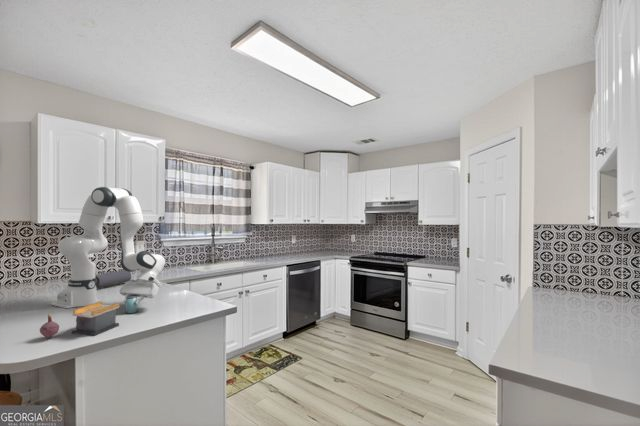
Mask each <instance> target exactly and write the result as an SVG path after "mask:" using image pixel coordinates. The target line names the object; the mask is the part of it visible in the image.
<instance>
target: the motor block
mask: <svg viewBox="0 0 640 426" xmlns="http://www.w3.org/2000/svg"><path fill="white" fill-rule="evenodd" d="M119 308H120V303H118V302H116V303H114V304H113V303H112V304H103V301H101V300H100V301H98V302H96V303H94V304H91V305H86V306H80V307H77V308H75V309H73V310H72V316H73V317H76V318H75V319H76V320H75V323H76V324H75V326H76V328H74V329H72V330H71V333H72V334H76V335H78V334H79V335H86V336H94V337H95V336H98V335H102V333H105V332H108V331H110V330H112V329H115V328H116V327H119V326H120V323H119V322H116V321H117V320H116V319H117V318H116V316H117V315H116V313H117V309H119Z"/></svg>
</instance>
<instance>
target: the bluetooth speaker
mask: <svg viewBox="0 0 640 426" xmlns="http://www.w3.org/2000/svg"><path fill="white" fill-rule="evenodd" d="M95 277H96V284H95V286H96V289H101V288H104V289H108V288H113V287H114V288H115V287H117V286H118V287H119V286H120V285H121V284H125V283H126V282H128V281H130V280H132V272H128V271H125V270H117V271H112V272H106V273H102V274H101V273H100V274H97V275H96V274H95Z"/></svg>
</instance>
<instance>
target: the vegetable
mask: <svg viewBox="0 0 640 426" xmlns="http://www.w3.org/2000/svg"><path fill="white" fill-rule="evenodd" d="M47 319H48V321H47V322H45V323H44V324H42V325H41V326H40V328H39V333H40V335H42V336H43V337H45V338H46V339H49V338H52V337H53V336H55V335H56V334H57V333H59V330H60V325H59V323H57V322H55V321H53V320H52V316H51V315H50V314H47Z"/></svg>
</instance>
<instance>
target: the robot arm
mask: <svg viewBox="0 0 640 426" xmlns="http://www.w3.org/2000/svg"><path fill="white" fill-rule="evenodd" d="M109 208H116V209H117V213H118V216H119V217H118V218H119V220H120V230H119V240H120V247H121V249H120V250H121V258H120V259H121V260H120V266H121V268H122V269H123V271H128V272H130V273H132V272H135V271H137V270H139V271H141V272H140V273H139V275H138V276H137V277H136V279H131V280H130V281H128V282H125V283H123V285H122V287H120V289H119V293H120V295H122V296H124V297H125V298H124V300H123V303H124V304H126V297H127V296H131V295H137V300H135V302H134V303H135V304H137V305H139V303H140V302H141V301H143V300H145V298H146V299H147V298H148V299H153V298H155V297H156V296H157V294H158V293H159V289H160V287H161V286H162V284H161V282H160V281H159V280H158V279H157V278H158V276H159V275H160V274H161V272H162V271H163V269H164V267H165V265H166V259H165V257H164V256H162V255H161V254H159V253H158V254H157V253H151V252H150V251H147V250H141V251H137V252H135V243H134V238H135V235H136V233H137V232H138V231H140V229H141V228H143V226H144V216H143V211H142V207H141V205H140V203H139V200H138V198H137V197H135V196H134V195H133V193H132V192H131V191H130V190H128V189H126V188H122V187H117V186H116V187H115V186H113V187H112V186H111V187H110V186H108V187H107V186H100V187H96V188H94V190H92V192H91V194H90V195H89V196H88V197H87V199H86V200H85V203H84V204H83V207H82V210H81V214H80V217H79V219H78V225H79V227H80V228H81V229H83V235H72V236H68V237H65V238H63V239H61V240H60V241H59V243H58V247H57V248H58V251H59V253H60V254H61V255H63V256H64V257H66V259H67V261H68V263H69V265H70V279H69V280H68V279H67V281H66V284H67V286H65V288H64V289H61V291H59V292H58V293H57V296H56V300H54V301H52V302H51V303H50V305H51V306H56V307H59V308H63V309H68V308H76V307H77V308H80V307H84V306H87V305H91V304H94V303H97V302H99V296H98V292H97V291H98V288H96V286H95V284H96V277H95V276H96V271H97V270H96V269H97V265H96V263H95V262H94V261H92V260H90V257H89V255H92V254H97V253H100V252H102V251H105V250H107V247H108V243H109V242H108V239H107V238H106V236H104V233H103V232H104V231H103V226H104V223H105V220H106V219H105V218H106V216H107V213H108V212H107V211H108V209H109Z"/></svg>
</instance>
